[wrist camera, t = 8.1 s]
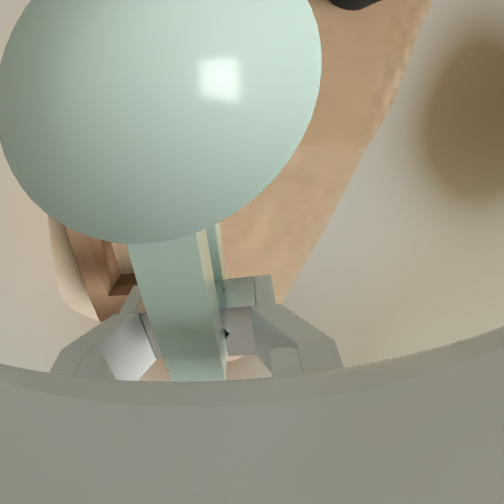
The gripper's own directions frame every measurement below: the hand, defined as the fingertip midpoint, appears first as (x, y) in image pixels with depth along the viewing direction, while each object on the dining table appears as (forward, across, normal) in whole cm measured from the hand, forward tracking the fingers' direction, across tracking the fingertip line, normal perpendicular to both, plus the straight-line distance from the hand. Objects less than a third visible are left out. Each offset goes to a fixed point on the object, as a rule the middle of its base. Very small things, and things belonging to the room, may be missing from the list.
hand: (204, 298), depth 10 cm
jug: (+6, 0, -5) cm, 8 cm away
